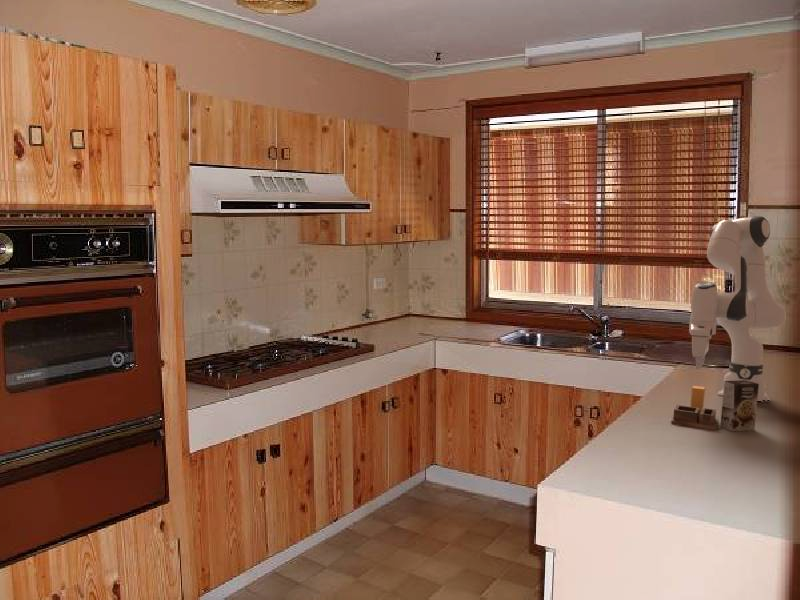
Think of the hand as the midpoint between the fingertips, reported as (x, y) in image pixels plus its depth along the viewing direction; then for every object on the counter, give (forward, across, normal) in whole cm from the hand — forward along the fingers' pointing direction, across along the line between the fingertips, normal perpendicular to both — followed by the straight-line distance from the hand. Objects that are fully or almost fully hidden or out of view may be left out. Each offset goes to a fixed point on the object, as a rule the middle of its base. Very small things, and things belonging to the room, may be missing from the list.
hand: (699, 366), depth 256 cm
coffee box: (+18, +10, +14) cm, 25 cm away
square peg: (+18, -1, 0) cm, 18 cm away
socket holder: (+18, +11, 0) cm, 21 cm away
